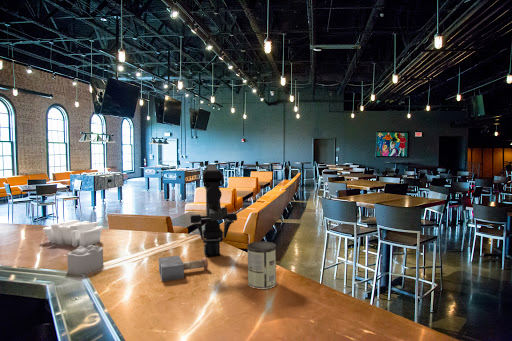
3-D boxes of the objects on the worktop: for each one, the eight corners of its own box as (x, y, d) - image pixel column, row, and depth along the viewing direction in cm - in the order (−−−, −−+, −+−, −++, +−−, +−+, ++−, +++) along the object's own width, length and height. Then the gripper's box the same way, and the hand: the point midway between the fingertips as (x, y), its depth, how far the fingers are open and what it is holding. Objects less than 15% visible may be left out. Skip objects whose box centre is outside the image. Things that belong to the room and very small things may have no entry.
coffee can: (253, 277, 120) (252, 240, 119) (279, 280, 116) (279, 242, 116) (243, 287, 110) (242, 247, 109) (271, 291, 107) (271, 250, 106)
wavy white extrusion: (110, 242, 169) (110, 223, 168) (81, 251, 154) (81, 229, 153) (69, 235, 184) (68, 217, 184) (39, 242, 169) (38, 223, 169)
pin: (205, 266, 130) (205, 255, 130) (207, 270, 126) (207, 259, 125) (172, 271, 125) (172, 259, 125) (174, 275, 121) (174, 263, 121)
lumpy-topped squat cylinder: (64, 271, 127) (63, 250, 126) (92, 261, 139) (92, 241, 138) (81, 275, 122) (81, 253, 122) (109, 264, 134) (109, 244, 134)
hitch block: (179, 267, 130) (179, 255, 129) (183, 278, 119) (183, 264, 118) (158, 270, 127) (158, 257, 126) (161, 281, 116) (161, 267, 115)
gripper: (192, 202, 118) (192, 244, 118) (240, 200, 124) (240, 240, 123) (189, 200, 129) (189, 239, 128) (233, 199, 135) (234, 236, 134)
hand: (213, 239), depth 128 cm, fingers open, 9 cm apart
